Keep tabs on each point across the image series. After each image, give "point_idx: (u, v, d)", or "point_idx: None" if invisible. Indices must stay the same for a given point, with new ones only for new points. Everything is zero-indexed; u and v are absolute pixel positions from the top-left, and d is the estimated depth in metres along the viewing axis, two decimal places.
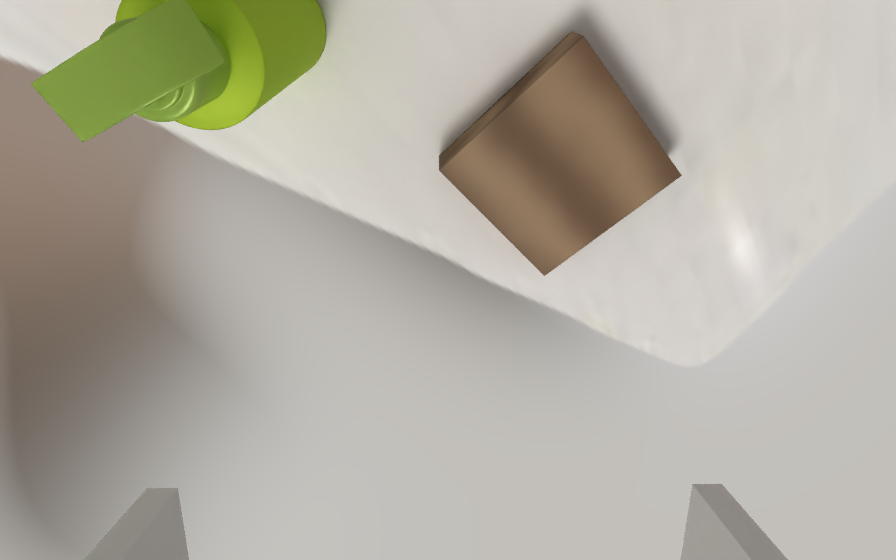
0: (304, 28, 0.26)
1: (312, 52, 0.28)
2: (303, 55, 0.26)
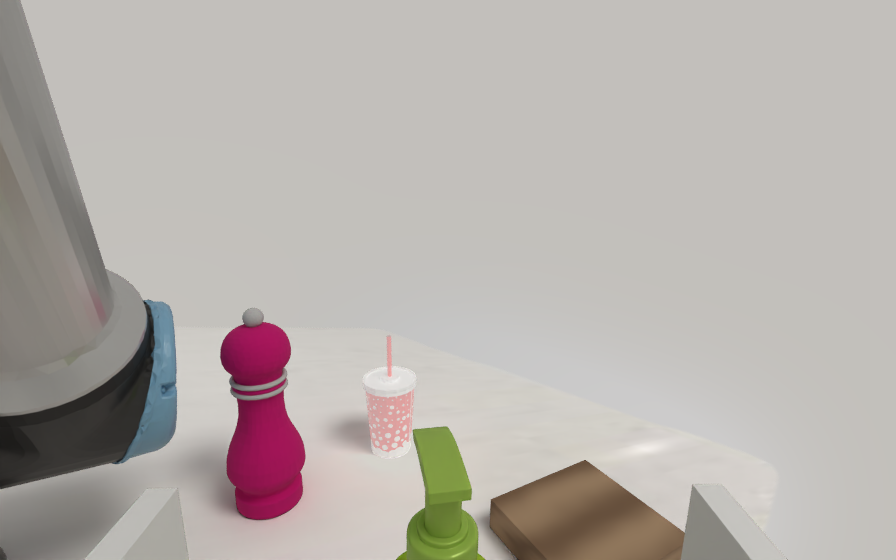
0: None
1: None
2: None
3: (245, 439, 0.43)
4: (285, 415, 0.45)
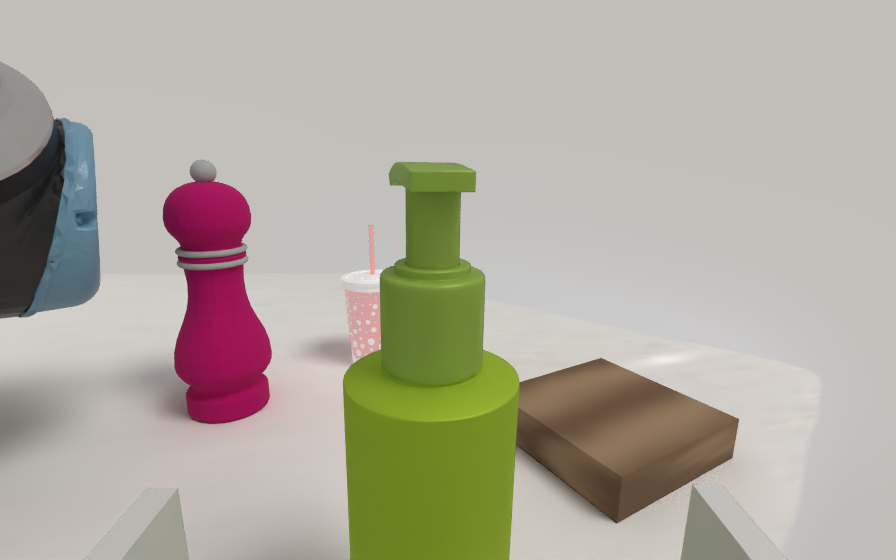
0: None
1: None
2: None
3: (195, 321, 0.36)
4: (245, 298, 0.38)
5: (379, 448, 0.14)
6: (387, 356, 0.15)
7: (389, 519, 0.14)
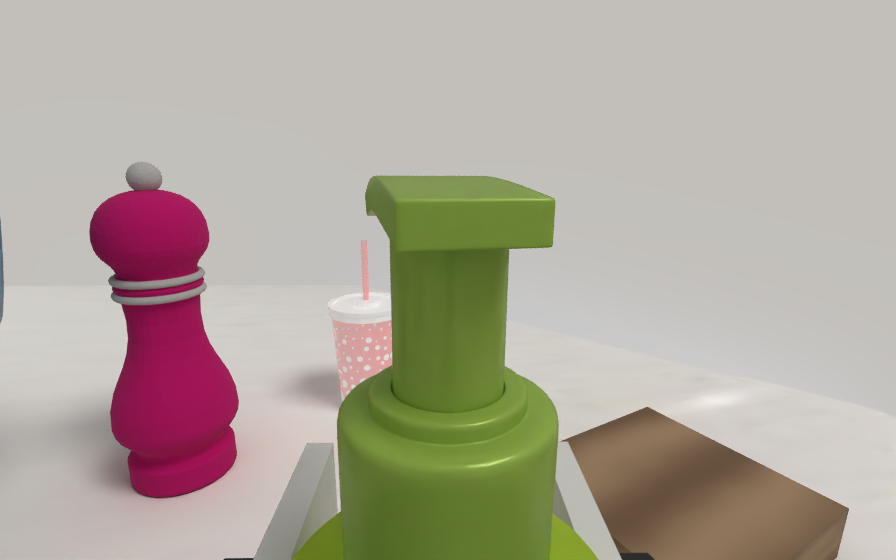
0: None
1: None
2: None
3: (134, 370, 0.28)
4: (202, 338, 0.30)
5: None
6: None
7: None
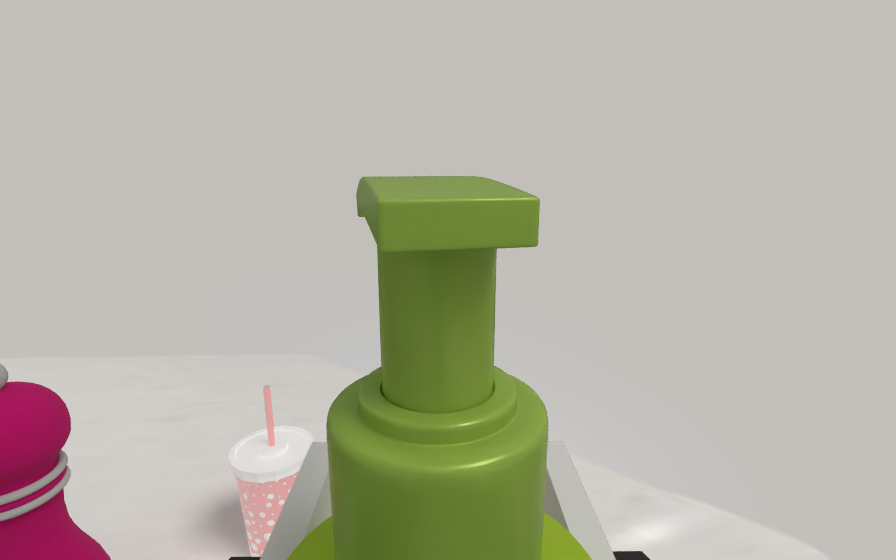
0: None
1: None
2: None
3: None
4: (65, 536, 0.27)
5: None
6: None
7: None
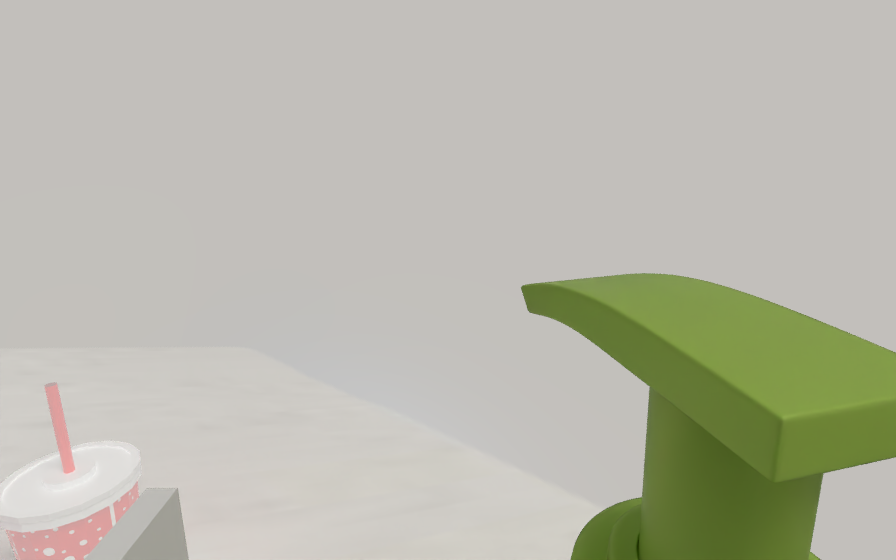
0: None
1: None
2: None
3: None
4: None
5: None
6: None
7: None
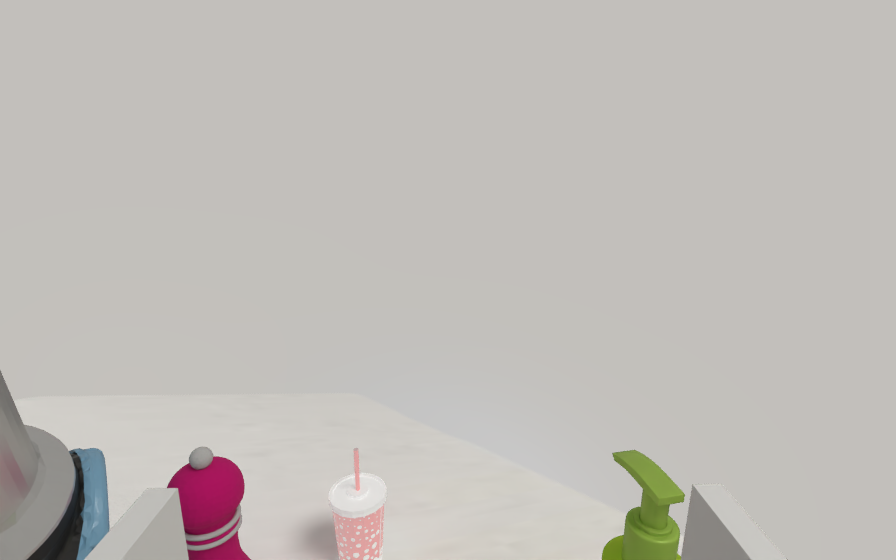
0: None
1: None
2: None
3: None
4: (239, 556, 0.42)
5: None
6: None
7: None
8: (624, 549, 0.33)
